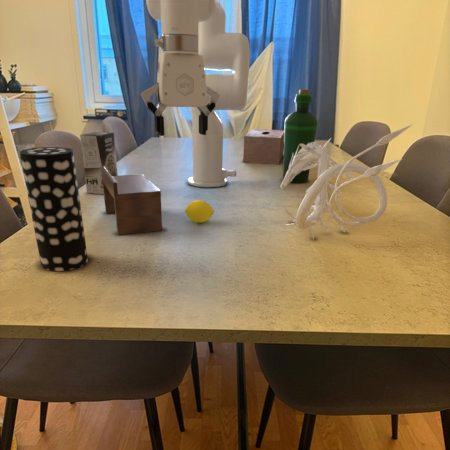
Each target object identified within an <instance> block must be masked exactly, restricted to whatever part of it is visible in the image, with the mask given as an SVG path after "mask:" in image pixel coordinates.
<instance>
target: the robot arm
mask: <svg viewBox="0 0 450 450" xmlns="http://www.w3.org/2000/svg"><path fill="white" fill-rule="evenodd" d="M145 3H146V4H145V5H146V8H147V11H148V13H149V15H150V17H151V18H152V19H153V20H155V21H157V22H160V24H161V25H160V26H161V35H160V37H159V38H155V39H154V46H155V47H158V48H160V51H161V52H160V53H159V54H158V60H157V72H156V73H157V74H156V84H154V85H153V86H150V87H149V88H147V89H146V90H143V91H142V92H141V93H140V96H141V98H142V100H143V102H144V104H145V106H146V108H147V109H148V110H149V111H150V112H151V113H152V115H154V127H155V129H154V130H155V132H157V135H158V136H159V137H163V136H165V118H164V116H163V112H164V111H165V110H166V108H168V107H169V108H170V107H171V108H190V110H191V126H192V127H191V128H192V129H191V130H192V131H191V132H192V133H191V135H192V138H191V139H192V176H191V177H189V178H188V179H187V183H188V184H189V185H191V186H194V187H198V188H218V187H224V186H225V185H227V184H228V180H227V178H228V177H229V178H233V177H237V170H234V169H233V170H230V169H225V168H223V158H224V157H223V155H224V151H223V150H224V124H223V122H222V120H221V118H220V117H219V115H218V114H217V112H216V111H241V110H244V109H245V108H246V106H247V103H248V97H249V83H250V81H249V80H250V62H251V61H250V59H251V47H250V42H249V38H248V37H247V36H246V35H245V34H243V33H241V32H226V19H227V16H226V12H225V10H224V8H223V6H222V4H221V3H220V1H219V0H145ZM206 70H209V71H230V72H232V73H233V74H226V73H224V74H223V73H221V74H220V73H206ZM155 94H156V100H157V104H156V105H155V104H154V103H153V102H152V100H151V96H153V95H155Z"/></svg>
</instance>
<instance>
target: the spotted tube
mask: <svg viewBox="0 0 450 450" xmlns="http://www.w3.org/2000/svg"><path fill="white" fill-rule="evenodd" d="M19 156H20V162H21V166H22V173H23V177H24V178H23V179H24V182H25V187H26V188H25V189H26V193H27V197H28V203H29V208H30V213H31V219H32V225H33V229H34V235H35V240H36V246H37V251H38V256H39V261H40V265H41V267H42V268H43V269H45V270H47V271H51V272H64V271H65V272H67V271H72V270H76V269H79V268H81V267H83V266H85V265H86V264H87V263H88V261H89V258H88V251H87V250H88V249H87V243H86V236H85V228H84V221H83V214H82V213H83V212H82V208H81V199H80V198H81V197H80V192H79V183H78V177H77V169H76V162H75V154H74V149H72V148H70V147H61V146H43V147H41V146H40V147H31V148H25V149H21V150H20V151H19Z"/></svg>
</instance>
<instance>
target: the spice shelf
mask: <svg viewBox="0 0 450 450" xmlns="http://www.w3.org/2000/svg"><path fill="white" fill-rule="evenodd" d="M101 173H102V182H103V192H104V194H103V201H104V206H105V207H104V210H105V214H106V215H108V214H115V224H116V233H117V235H118V236H122V235H132V234H140V233H150V232H160V231H161V232H162V231H163V213H162V191H161V189H159V188H158V187H157V186H156V185H155V184H154V183H153V182H151V181H150V180H149V179H148V177H146V176H145V175H144V174H142V173H140V174H124V175H118V176H111V175H110V173H109V172H108V171H107V169H106V168H105V167H104V166H101Z"/></svg>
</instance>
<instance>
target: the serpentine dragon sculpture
mask: <svg viewBox="0 0 450 450" xmlns="http://www.w3.org/2000/svg"><path fill="white" fill-rule="evenodd" d="M412 126H413V123H412V124H410V125H407V126H405V127H403V128H401V129H398V130H395V131H393V132H390V133H388V134H386V135H384V136H382V137H381V138H380V139H378V140H377V142H376V143H375V144H373V145H372V146H370V147H368V148H366V149H365V150H363V151H361V152H360V153H357V154H356V155H354V156H353V157H351V158H350V159H349V160H347V162H341V163H338V162H336V161H335V160H334V159H332V158H330V157H335V155H333V154H330V152H329V150H328V148H327V147H328V145H329V143H330V142H331V139H332V137H330V138H329V139H328V140H327V141H326V142H325V143H324V144H323V145H322V144H319V143H318V142H316V141H315V142H311V143H309V144H307V145H304V144H302V143H301V144H299V145H300V146H301V147H302V149H300V151H299V152H298V153H297V151H298V148H299V146H298V148H297V151H296V153H295V155H294V158H293V160H292V158H291V161H292V163H291V161H290V164H289V168H288V171H287V172H286V174H285V177H284V179H283V178H282V180H281V181H282V182H281V184H280V186H279V188H280V189H282V190H284V189H285V188H287V187H288V185H289V184H291V183H290V182H291V181H292V180H293V178H294V177H295V176H296V175H297V174H299V173H300V172H301V171H303V170H304V171H305V170H307V169H310V170H311V169H312V168H316V166H317V178H316V180H314V182H313V184H312V185H311V186H309V187H308V188H306V190H305V192H304V193H305V194H304V197H303V199H302V200H301V202H300V204H299V206H298V209H297V211H296V214H295V215H294V214H293V213H292V212H290V211H288V210H287V209H286V208H284V211H285V212H286V213H287V214H288V215H289V216H290V217H292V218H293V220H292V223H288V224H287V223H286V226H293V225H296V227H297V228H298V229H300V230H307V229H308V230H309V232H310V235H311V237H312V240H313V241H314V240H315V236H314V233H313V229H312V227H313V226H314V225H316V224H317V223H318V222H320V225H321V226H322V227H323V228H324V230H325V231H326V232H327V233H329V228H328V227H327V226H326V225H327V224H326V223H325V221H324V220H323V219H322V216H323V215H324V213H325V212H327V213H328V215H329V217H330V218H331V219H333V220H334V221H335V222H336V225H338V226H339V228H340V231H342V232H343V233H346V229H345V227H352V228H353V227H361V226H365V225H369V224H371V223H373V222H376V221H377V220H379V219H380V218H381V217H382V216H383V215H384V213H385V212H386V210H387V207H388V194H387V189H386V187H385V185H384V183H383V181H382V179H381V178H380V177H379V174H381V173H383V172H384V171H385V170H387V169H389V168H390V167H392V166H394V165H395V164H397V163H399V162H400V161H402V160H403V158H400V159H395V160H392V161H388V162H385V163H382V164H379V165H374V166H371V167H367V166H366V165H363V164H360V163H356V162H353V161H354V160H355V159H357V158H359V157H361V156H362V155H364V154H366V153H367V152H369V151H371V150H372V149H374V148H376V147H380V146H385V145H387V144H389V143H390V142H391V141H392V140H394V139H396V138H397V137H398V136H400V135H401V134H403V133H404V132H405V131H406V130H408V129H409V128H410V127H412ZM312 143H313V144H312ZM296 154H297V155H296ZM292 157H293V154H292ZM309 164H310V165H309ZM330 164H331V165H330ZM351 173H355V174H358V175H359V176H356V177H354V176H353V175H352V174H351ZM343 174H344V175H346V176H347V177H348V178H349V180H347V181H345V182H342V183H341V184H339V183H340V180H341V178H342V175H343ZM336 176H337V177H336ZM335 177H336V180H335V183H334V184H332V183H331V182H330V181H331V180H332V179H334V178H335ZM362 178H366V179H368V180H369V181H370V182H371V183H372V184H373V186H374V187H375V189H376V191H377V194H378V198H379V204H378V205H379V206H378V208H377V210H376V211H375V212H374V213H373V214H372V215H369V216H361V217H357V216H354V215H352V214H350V213H348V212H347V211H346V210H345V209H344V208H343V206H342V204H341V202H340V199H339V193H340V194H342V195H343V194H344V192H343V191H342V190H341V188H343V187H344V186H346V185H348V184H351V183H354V182H356V181H358V180H360V179H362ZM329 187H330V189H332V190H333V192H332V194H331V196H330V199H329V193H328V191H329V190H328V189H329ZM333 200H335V203H336V207H337V208H338V210H339V211H340V213H341V214H342V215H344V216H345V217H346V218H348V219H350V220H351V221H354V222H346V221H344V220H343V219H342V217H341V216H340V215H339V214H337V212H335V211H334V210H333ZM327 205H328V207H327ZM310 212H311V214H310V215H309V213H310Z"/></svg>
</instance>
